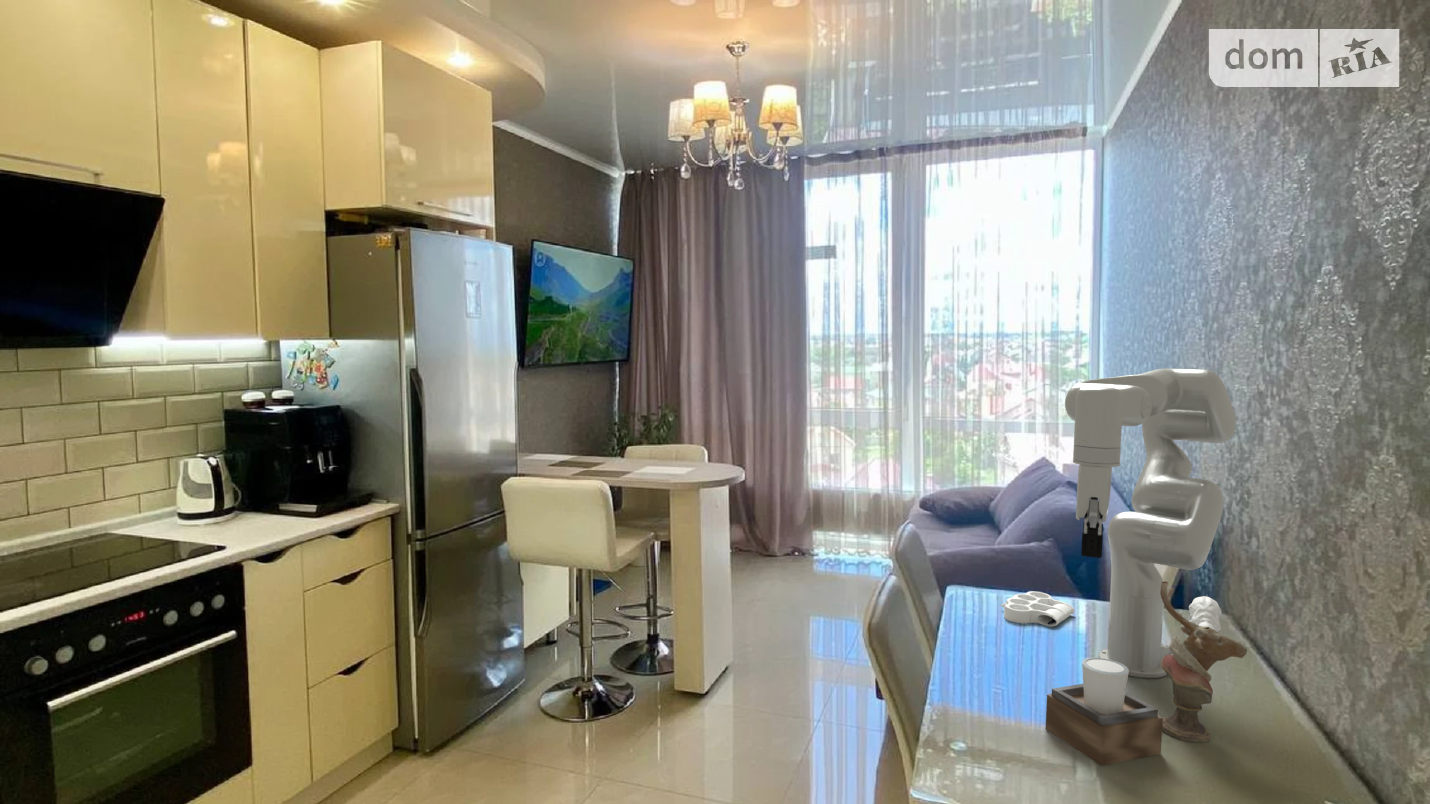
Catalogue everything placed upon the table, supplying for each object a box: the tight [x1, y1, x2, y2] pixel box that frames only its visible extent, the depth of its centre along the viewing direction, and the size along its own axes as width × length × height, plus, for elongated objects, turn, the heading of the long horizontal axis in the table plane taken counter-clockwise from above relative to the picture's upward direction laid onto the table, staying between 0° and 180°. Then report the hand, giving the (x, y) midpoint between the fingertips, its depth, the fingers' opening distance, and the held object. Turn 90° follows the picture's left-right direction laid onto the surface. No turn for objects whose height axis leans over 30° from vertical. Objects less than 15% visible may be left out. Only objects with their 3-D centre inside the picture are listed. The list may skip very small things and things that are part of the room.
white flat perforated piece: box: [1000, 590, 1075, 627], centre depth 186 cm, size 3×18×15 cm
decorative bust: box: [1160, 581, 1248, 743], centre depth 129 cm, size 11×13×25 cm
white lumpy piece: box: [1188, 595, 1222, 633], centre depth 171 cm, size 6×8×12 cm
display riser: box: [1045, 683, 1164, 767], centre depth 126 cm, size 12×12×7 cm
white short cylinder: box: [1081, 657, 1129, 715], centre depth 125 cm, size 7×7×7 cm
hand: (1091, 550), depth 138 cm, fingers open, 9 cm apart
